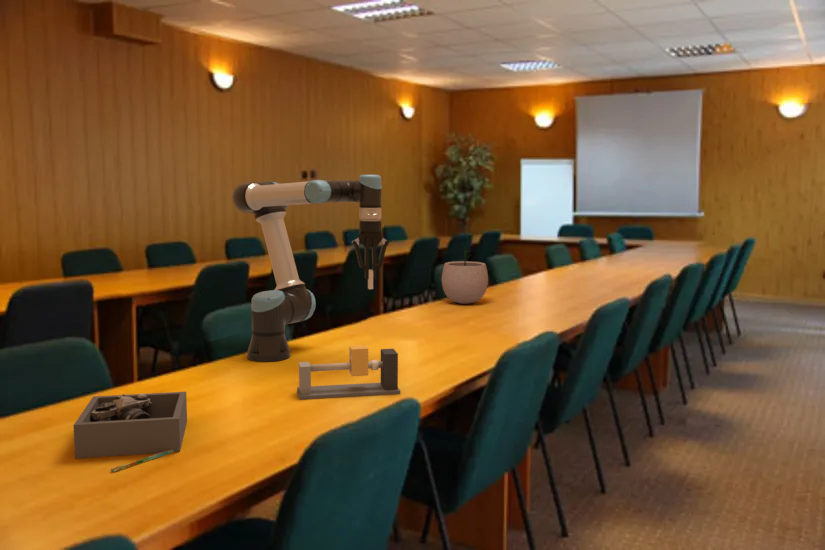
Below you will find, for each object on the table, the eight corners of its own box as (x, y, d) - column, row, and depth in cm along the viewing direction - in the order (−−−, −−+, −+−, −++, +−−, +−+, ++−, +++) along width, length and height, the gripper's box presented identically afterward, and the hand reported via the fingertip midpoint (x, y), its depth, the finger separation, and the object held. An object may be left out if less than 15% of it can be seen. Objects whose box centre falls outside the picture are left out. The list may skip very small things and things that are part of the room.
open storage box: (75, 458, 172) (73, 425, 171) (94, 426, 194) (93, 396, 193) (180, 451, 177) (178, 418, 176) (187, 420, 199) (186, 391, 198)
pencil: (178, 449, 179) (110, 473, 164) (178, 445, 179) (109, 468, 164) (182, 451, 178) (113, 474, 164) (182, 446, 178) (113, 469, 163)
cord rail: (299, 399, 219) (299, 359, 217) (297, 390, 228) (296, 351, 227) (400, 393, 225) (400, 354, 224) (393, 384, 235) (394, 347, 233)
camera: (112, 450, 178) (110, 409, 176) (88, 441, 184) (86, 401, 182) (169, 432, 190) (167, 394, 189) (144, 424, 196) (143, 387, 195)
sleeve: (351, 376, 224) (351, 349, 223) (349, 372, 229) (349, 345, 227) (368, 375, 225) (368, 348, 224) (365, 371, 230) (365, 345, 229)
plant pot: (473, 308, 373) (474, 248, 369) (432, 304, 386) (433, 246, 382) (495, 302, 393) (496, 245, 389) (455, 298, 406) (456, 242, 402)
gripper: (352, 220, 251) (353, 290, 254) (391, 220, 253) (390, 289, 256) (350, 219, 258) (350, 287, 261) (387, 219, 261) (387, 286, 264)
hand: (370, 288), depth 259 cm, fingers closed
